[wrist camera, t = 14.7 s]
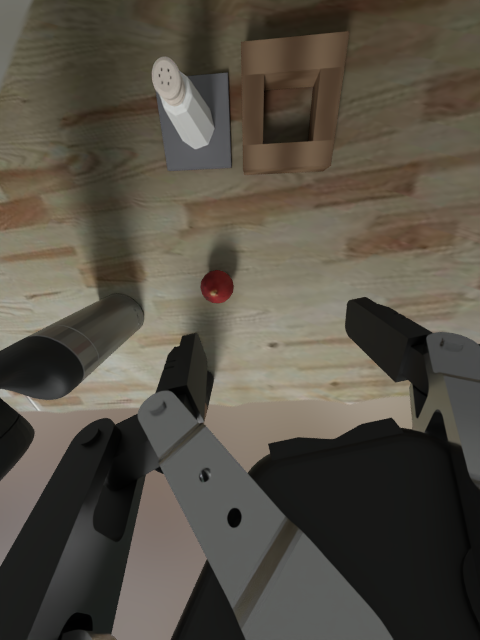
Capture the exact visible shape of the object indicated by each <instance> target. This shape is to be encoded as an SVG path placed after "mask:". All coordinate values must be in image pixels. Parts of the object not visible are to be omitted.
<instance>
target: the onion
mask: <svg viewBox="0 0 480 640" xmlns="http://www.w3.org/2000/svg"><path fill="white" fill-rule="evenodd" d="M233 288H234V285H233V281H232V279H231V278H230V276H229V275H228V274H226V273H225V272H223V271H219V270H215V271H210V272H209V273H207V274H206V275H205V276H204V278H203V279H202V281H201V291H202V294H203V296H204V297H205V298H206V300H208V301H210V302H212V303H222V302H225V301H226V300H227V299H229V298H230V296H231V295H232V293H233Z"/></svg>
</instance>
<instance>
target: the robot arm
mask: <svg viewBox="0 0 480 640" xmlns="http://www.w3.org/2000/svg"><path fill="white" fill-rule="evenodd" d="M143 322H144V315H143V312H142V309H141V308H140V306H139V305H138V304H137V303H136V302H135V301H134V300H133V299H131V298H130V297H128V296H125V295H122V294H112V295H109V296H107V297H105V298H103V299H101V300H99V301H97V302H95V303H93V304H91V305H89V306H87V307H85V308H83V309H81V310H79V311H77V312H75V313H73V314H71V315H69V316H67V317H65V318H63V319H61V320H59V321H57V322H55V323H53V324H51V325H49V326H47V327H46V328H44V329H42V330H40V331H38V332H36V333H34V334H32V335H30V336H28V337H26V338H24V339H22V340H20V341H18V342H16V343H14V344H12V345H11V346H9V347H7V348H5V349H3V350H1V351H0V389H5V390H10V391H14V392H17V393H20V394H23V395H26V396H29V397H33V398H37V399H44V400H53V399H58V398H61V397H63V396H65V395H67V394H68V393H70V392H71V391H72V390H73V389H74V388H75V387H77V386H78V385H79V384H80V383H81V382H82V381H83V380H84V379H85V378H86V377H87V376H88V375H90V374H91V373H92V372H93V371H94V370H95V369H96V368H97V367H98V366H99V365H100V364H101V363H103V362H104V361H105V360H106V359H107V358H108V357H109V356H110V355H111V354H112V353H113V352H114V351H116V350H117V349H118V348H119V347H120V346H121V345H122V344H123V343H124V342H125V341H126V340H128V339H129V338H130V337H131V336H132V335H133V334H134V333H135V332H136V331H137V330H139V329H140V328H141V326H142V325H143ZM345 329H346V332H347V334H348V336H349V337H350V338H351V339H352V340H353V341H354V342H355V343H356V344H357V345H358V346H359V347H360V348H361V349H362V350H363V351H364V352H365V353H366V354H367V355H368V356H369V357H370V358H371V359H372V360H373V361H374V362H375V363H376V364H377V365H378V366H379V367H380V368H381V369H382V370H383V371H384V372H385V373H386V374H387V375H388V376H389V377H390V378H391V379H392V380H393V381H395V382H400V381H405V380H409V381H410V382H411V384H410V387H409V392H410V403H411V414H412V429H405V428H400V427H399V426H398V425H397V423H396V422H395V421H394V420H393V419H392V418H388V419H384V420H379V421H374V422H369V423H365V424H361V425H359V426H357V427H356V428H354V429H352V430H350V431H348V432H346V433H345V434H343V435H341V436H340V437H338V438H336V439H317V438H300V437H298V438H293V439H289V440H284V441H279V442H274V443H270V444H268V445H269V449H270V454H268V455H267V456H265V457H263V458H262V459H261V460H259V461H258V462H257V463H256V464H255V465H254V466H253V467H252V468H251V470H250V471H249V472H248V473H247V472H246V471H245V470H244V469H243V468H242V467H241V465H240V464H239V463H238V462H237V461H236V460H235V459H234V458H233V456H232V455H231V454H230V453H229V452H228V451H227V449H226V448H225V447H224V446H223V445H222V444H221V443H220V442H219V441H218V439H217V438H216V437H215V436H214V435H213V433H212V432H211V431H210V430H209V429H208V428H207V427H206V426H205V425H204V424H203V422H204V417H205V400H206V383H207V358H206V355H205V352H204V349H203V346H202V344H201V341H200V338H199V335H198V334H197V333H194V334H189V335H184V336H182V339H181V342H180V346H178V347H174V348H173V349H172V351H171V352H170V353H169V354H168V357H167V360H166V364H165V366H164V370H163V372H162V375H161V378H160V381H159V384H158V387H157V390H156V393H155V394H153V395H152V396H150V397H149V398H148V399H147V400H145V401H144V403H143V404H142V405H141V407H140V409H139V411H138V414H136V415H134V416H132V417H130V418H128V419H126V420H124V421H122V422H120V423H118V424H116V425H115V424H114V422H113V421H112V420H111V419H108V418H103V419H99V420H96V421H94V422H92V423H90V424H89V425H87V426H86V427H85V428H83V429H82V430H81V431H80V432H79V433H78V434H77V435H76V436H75V438H74V439H73V440H72V442H71V444H70V445H69V447H68V449H67V450H66V452H65V454H64V456H63V457H62V459H61V461H60V463H59V464H58V466H57V468H56V470H55V472H54V473H53V475H52V477H51V479H50V481H49V482H48V484H47V486H46V487H45V489H44V491H43V493H42V494H41V496H40V498H39V500H38V501H37V503H36V505H35V507H34V508H33V510H32V512H31V514H30V515H29V517H28V519H27V521H26V522H25V524H24V526H23V528H22V530H21V531H20V533H19V535H18V537H17V538H16V540H15V542H14V544H13V545H12V547H11V549H10V551H9V552H8V554H7V556H6V558H5V559H4V561H3V563H2V565H1V566H0V640H117V639H116V638H115V637H114V636H113V635H111V632H112V628H113V624H114V619H115V614H116V610H117V605H118V600H119V596H120V591H121V587H122V582H123V577H124V573H125V568H126V564H127V558H128V555H129V550H130V545H131V541H132V536H133V531H134V527H135V522H136V517H137V513H138V509H139V504H140V499H141V495H142V490H143V485H144V481H145V476H146V474H147V473H149V472H151V471H153V470H154V469H156V468H158V467H161V469H162V471H163V473H164V475H165V477H166V479H167V481H168V483H169V485H170V487H171V489H172V491H173V493H174V495H175V497H176V498H177V501H178V503H179V504H180V506H181V508H182V510H183V512H184V514H185V516H186V518H187V520H188V522H189V524H190V526H191V528H192V530H193V532H194V534H195V536H196V538H197V539H198V542H199V544H200V546H201V548H202V550H203V552H204V553H205V555H206V557H207V560H206V562H205V564H204V567H203V569H202V571H201V574H200V576H199V578H198V580H197V582H196V584H195V587H194V589H193V591H192V594H191V596H190V598H189V600H188V602H187V604H186V607H185V609H184V611H183V614H182V616H181V618H180V620H179V622H178V625H177V627H176V629H175V631H174V633H173V636H172V638H171V640H480V344H477V343H476V342H475V341H473V340H471V339H469V338H467V337H464V336H462V335H458V334H454V333H447V332H437V333H432V332H430V331H429V330H427V329H425V328H424V327H422V326H420V325H418V324H417V323H415V322H413V321H412V320H410V319H408V318H406V317H405V316H403V315H401V314H398V312H396V311H395V310H393V309H391V308H389V307H386V306H383V305H380V304H377V303H375V302H373V301H372V300H370V299H368V298H367V297H362V298H357V299H353V300H349V301H348V303H347V310H346V321H345ZM33 438H34V429H33V427H32V426H31V425H30V423H29V422H28V421H27V420H26V419H25V418H23V417H22V416H21V415H20V414H18V413H17V412H16V411H15V410H14V409H13V408H11V407H10V406H9V405H8V404H7V403H5V402H4V401H3V400H2V399H1V398H0V481H1V479H3V477H4V476H5V475H6V474H7V473H8V472H9V471H10V470H11V469H12V468H13V466H15V464H16V463H17V462H18V461H19V459H20V458H21V457H22V456H23V455H24V453H25V452H26V451H27V449H28V448H29V446H30V444H31V443H32V441H33Z"/></svg>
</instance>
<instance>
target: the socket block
mask: <svg viewBox="0 0 480 640" xmlns="http://www.w3.org/2000/svg"><path fill="white" fill-rule="evenodd" d="M348 38H349V31H346V32H336V33H326V34H316V35H305V36H295V37H285V38H275V39H265V40H254V41H244V42H241V65H242V128H243V171H244V175H254V174H275V173H296V172H317V171H324V170H325V169H327V168H328V167H329V166H331V160H332V153H333V146H334V138H335V131H336V124H337V117H338V110H339V103H340V95H341V88H342V81H343V74H344V67H345V60H346V52H347V45H348ZM303 87H313V93H312V103H311V114H310V124H309V135H308V142H291V143H274V144H263V107H264V91H265V90H277V89H290V88H303Z"/></svg>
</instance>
